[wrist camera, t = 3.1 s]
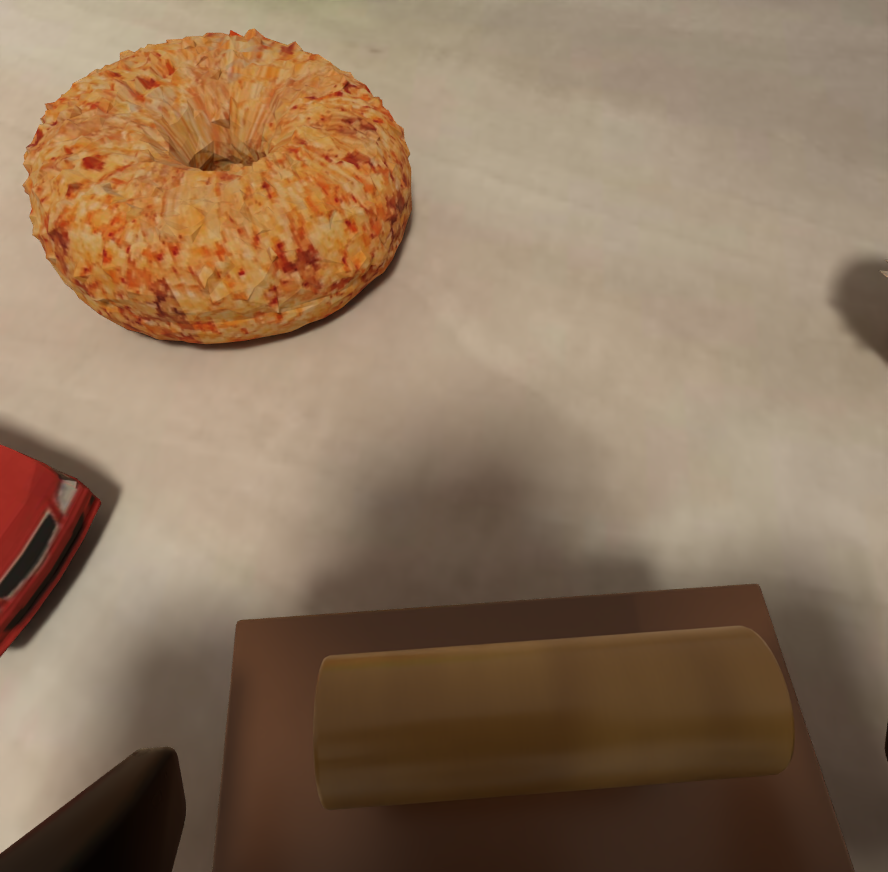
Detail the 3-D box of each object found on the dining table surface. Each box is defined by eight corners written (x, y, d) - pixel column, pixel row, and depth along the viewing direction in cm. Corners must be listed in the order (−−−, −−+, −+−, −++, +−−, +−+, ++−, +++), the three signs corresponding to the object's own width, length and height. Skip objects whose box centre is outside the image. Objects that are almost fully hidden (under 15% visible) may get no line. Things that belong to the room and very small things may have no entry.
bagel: (35, 388, 21) (-70, 274, 17) (102, 135, 28) (40, 10, 24) (432, 350, 22) (427, 231, 17) (400, 112, 29) (391, -14, 25)
